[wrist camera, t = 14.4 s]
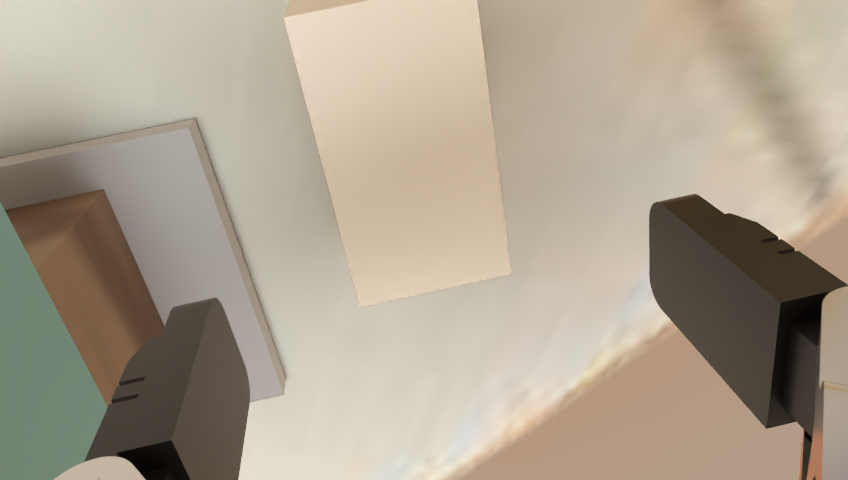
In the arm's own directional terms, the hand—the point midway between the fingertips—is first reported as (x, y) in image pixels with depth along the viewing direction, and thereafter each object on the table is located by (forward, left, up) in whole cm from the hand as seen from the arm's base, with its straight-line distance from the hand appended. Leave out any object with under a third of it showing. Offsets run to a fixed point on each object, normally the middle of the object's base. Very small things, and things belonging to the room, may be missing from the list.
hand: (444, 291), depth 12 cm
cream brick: (0, 0, -13) cm, 13 cm away
